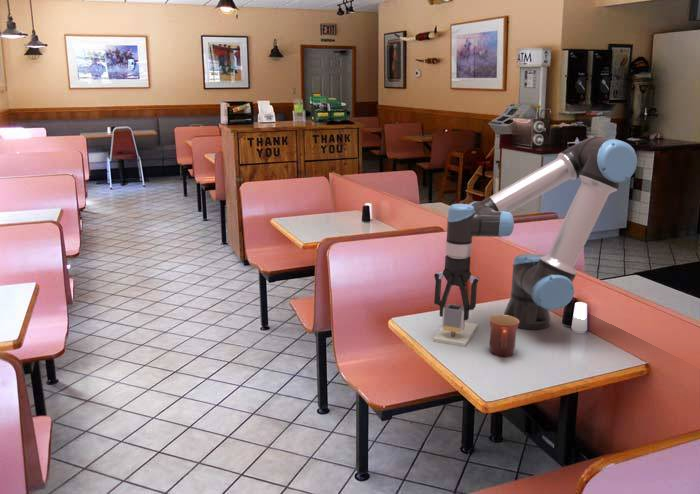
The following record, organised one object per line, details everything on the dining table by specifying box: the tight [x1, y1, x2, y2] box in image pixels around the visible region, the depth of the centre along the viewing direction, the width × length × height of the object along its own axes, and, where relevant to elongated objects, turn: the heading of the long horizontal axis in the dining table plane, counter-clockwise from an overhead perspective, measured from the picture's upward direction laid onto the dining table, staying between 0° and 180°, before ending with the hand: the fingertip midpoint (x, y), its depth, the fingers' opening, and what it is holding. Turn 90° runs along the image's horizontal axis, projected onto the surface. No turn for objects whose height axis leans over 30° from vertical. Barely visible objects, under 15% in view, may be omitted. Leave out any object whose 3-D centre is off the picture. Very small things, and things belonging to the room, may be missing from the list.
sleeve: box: [443, 303, 464, 333], centre depth 196 cm, size 5×5×7 cm
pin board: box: [432, 321, 479, 348], centre depth 201 cm, size 10×18×6 cm, turn 157°
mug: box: [488, 314, 520, 357], centre depth 186 cm, size 12×9×10 cm
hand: (453, 327), depth 197 cm, fingers closed on sleeve, 5 cm apart
